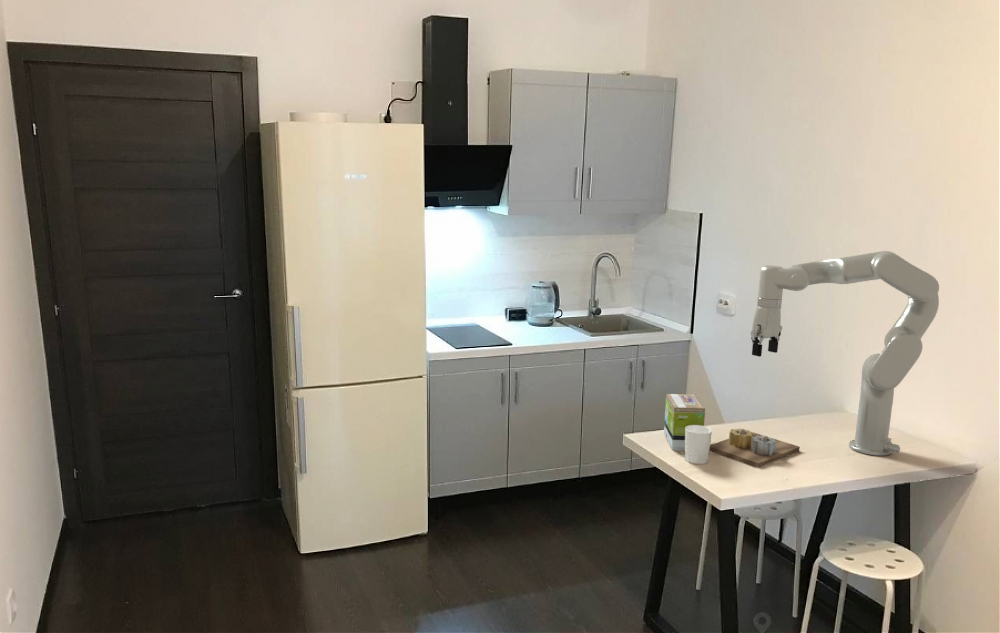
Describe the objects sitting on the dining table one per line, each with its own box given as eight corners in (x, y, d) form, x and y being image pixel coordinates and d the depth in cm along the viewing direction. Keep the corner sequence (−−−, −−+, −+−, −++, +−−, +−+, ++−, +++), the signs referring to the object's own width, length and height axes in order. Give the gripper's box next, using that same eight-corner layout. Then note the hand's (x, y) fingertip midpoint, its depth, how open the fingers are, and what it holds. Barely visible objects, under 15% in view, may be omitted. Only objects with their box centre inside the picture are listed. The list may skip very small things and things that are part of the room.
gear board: (799, 451, 242) (801, 431, 241) (757, 467, 227) (759, 447, 226) (749, 435, 255) (751, 417, 254) (707, 450, 240) (708, 430, 239)
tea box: (662, 434, 254) (665, 392, 251) (692, 435, 254) (695, 393, 251) (671, 450, 239) (674, 406, 236) (703, 452, 239) (706, 407, 236)
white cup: (695, 466, 227) (697, 434, 225) (677, 457, 233) (679, 426, 232) (714, 462, 230) (717, 431, 228) (697, 454, 237) (699, 423, 235)
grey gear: (777, 450, 238) (778, 438, 237) (773, 457, 231) (774, 445, 230) (752, 445, 241) (754, 433, 240) (748, 452, 235) (749, 440, 234)
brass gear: (757, 445, 242) (758, 433, 241) (744, 450, 237) (745, 438, 236) (737, 438, 247) (738, 427, 247) (724, 443, 243) (725, 431, 242)
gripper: (773, 299, 256) (768, 348, 260) (744, 303, 246) (740, 355, 249) (793, 302, 251) (788, 352, 254) (765, 307, 240) (760, 359, 243)
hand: (764, 353), depth 251 cm, fingers open, 9 cm apart
